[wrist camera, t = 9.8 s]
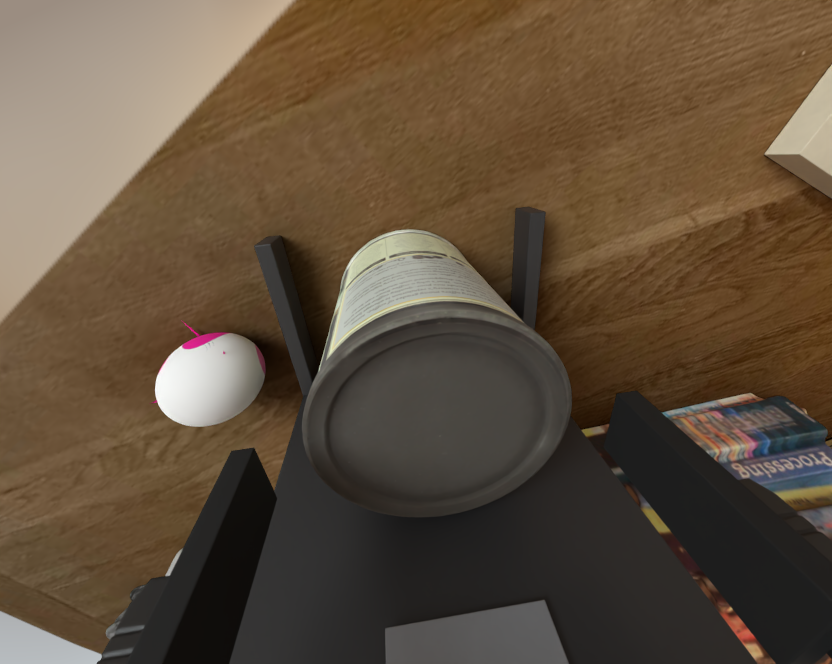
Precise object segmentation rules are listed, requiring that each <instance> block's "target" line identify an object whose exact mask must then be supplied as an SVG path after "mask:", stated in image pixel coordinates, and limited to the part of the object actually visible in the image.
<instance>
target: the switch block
mask: <svg viewBox="0 0 832 664" xmlns="http://www.w3.org/2000/svg"><path fill="white" fill-rule="evenodd" d="M764 155H766V156H767V157H769V158H770V159H772V160H773V161H775V162H776V163H778V164H779V165H781V166H782V167H784V168H785V169H787V170H789V171H790V172H792V173H793V174H795V175H796V176H798V177H799V178H801V179H802V180H804V181H805V182H807V183H808V184H810V185H811V186H813V187H815V188H816V189H818V190H819V191H821V192H822V193H824V194H825V195H827V196H828V197H830V198H831V199H832V65H831V66H830V67H829V69H828V70H827V71H826V73H825V74H824V75H823V77H822V78H821V79H820V81H819V82H818V83H817V85H816V86H815V87H814V89H813V90H812V91H811V93H810V94H809V95H808V97H807V98H806V99H805V101H804V102H803V103H802V105H801V106H800V107H799V109H798V110H797V111H796V113H795V114H794V115H793V117H792V118H791V119H790V121H789V122H788V123H787V125H786V126H785V127H784V129H783V130H782V131H781V133H780V134H779V135H778V136H777V138H776V139H775V140H774V142H773V143H772V144H771V146H770V147H769V148H768V150H767V151H766V152H765V154H764Z"/></svg>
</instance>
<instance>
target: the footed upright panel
mask: <svg viewBox="0 0 832 664" xmlns="http://www.w3.org/2000/svg"><path fill="white" fill-rule="evenodd" d="M544 224H545V212H544V211H541V210H538V209H535V208H531V207H522V208H516V213H515V233H514V253H513V273H512V293H511V309H512V310H513V311H514V312H515V313H516V315H517V316H518V317H519V318H520V319H521V320H522V321H523V322H524V323H525V324H526V325H527V326H529V327H530V328H532V329H533V330H534V331H535V321H536V311H537V300H538V289H539V278H540V267H541V256H542V245H543V234H544ZM254 247H255V250H256V253H257V256H258V259H259V263H260V266H261V269H262V272H263V275H264V278H265V281H266V284H267V287H268V290H269V293H270V296H271V299H272V302H273V305H274V308H275V311H276V314H277V317H278V320H279V324H280V327H281V330H282V333H283V336H284V339H285V342H286V345H287V348H288V351H289V354H290V357H291V360H292V363H293V366H294V369H295V372H296V375H297V378H298V381H299V385H300V388H301V391H302V394H303V399H302V402H301V406H300V409H299V412H298V415H297V419H296V422H295V425H294V429H293V432H292V435H291V438H290V442H289V445H288V448H287V451H286V455H285V458H284V461H283V464H282V468H281V471H280V474H279V477H278V481H277V484H276V487H275V490H274V492H275V494H276V497H277V501H276V505H275V508H274V512H273V515H272V519H271V522H270V525H269V529H268V532H267V536H266V539H265V543H264V546H263V549H262V553H261V556H260V560H259V563H258V567H257V570H256V573H255V577H254V580H253V584H252V587H251V591H250V594H249V597H248V601H247V604H246V608H245V611H244V615H243V618H242V621H241V625H240V628H239V632H238V635H237V639H236V642H235V645H234V649H233V652H232V656H231V659H230V663H229V664H758V663H757V662H756V661H755V659H754V658H753V657H752V655H751V654H750V653H749V651H748V650H747V649H746V647H745V646H744V645H743V643H742V642H741V641H740V639H739V638H738V637H737V635H736V634H735V633H734V631H733V630H732V629H731V627H730V626H729V625H728V624H727V622H726V621H725V620H724V618H723V617H722V616H721V614H720V613H719V612H718V610H717V609H716V608H715V606H714V605H713V604H712V602H711V601H710V600H709V598H708V597H707V596H706V594H705V593H704V592H703V590H702V589H701V588H700V586H699V585H698V584H697V583H696V581H695V580H694V579H693V577H692V576H691V575H690V573H689V572H688V571H687V569H686V568H685V567H684V565H683V564H682V563H681V561H680V560H679V559H678V557H677V556H676V555H675V553H674V552H673V551H672V549H671V548H670V547H669V545H668V544H667V543H666V541H665V540H664V539H663V538H662V536H661V535H660V534H659V532H658V531H657V530H656V528H655V527H654V526H653V524H652V523H651V522H650V520H649V519H648V518H647V516H646V515H645V514H644V512H643V511H642V510H641V508H640V507H639V506H638V504H637V503H636V502H635V500H634V499H633V498H632V497H631V495H630V494H629V493H628V491H627V490H626V489H625V487H624V486H623V485H622V483H621V482H620V481H619V479H618V478H617V477H616V475H615V474H614V473H613V471H612V470H611V469H610V467H609V466H608V465H607V463H606V462H605V461H604V459H603V458H602V457H601V455H600V454H599V453H598V452H597V450H596V449H595V448H594V446H593V445H592V444H591V442H590V441H589V440H588V438H587V437H586V436H585V434H584V433H583V432H582V430H581V429H580V428H579V426H578V425H577V424H576V422H575V421H574V420H573V418H572V417H571V416H570V419H569V423H568V426H567V428H566V431H565V434H564V436H563V438H562V440H561V442H560V444H559V445H558V447H557V449H556V451H555V452H554V453H553V455H552V456H551V457H550V458H549V460H548V461H547V462H546V463H545V464H544V465H543V467H542V468H541V469H540V470H539V471H538V472H537V473H536V474H535V475H534V476H533V477H531V478H530V479H529V480H527V481H526V482H525V483H524V484H522V485H521V486H520V487H518V488H517V489H515V490H513V491H512V492H510V493H508V494H506V495H504V496H503V497H501V498H499V499H497V500H495V501H493V502H490V503H488V504H486V505H483V506H481V507H478V508H475V509H472V510H468V511H465V512H461V513H456V514H452V515H446V516H437V517H401V516H393V515H387V514H381V513H377V512H374V511H371V510H368V509H365V508H362V507H360V506H358V505H356V504H354V503H352V502H350V501H348V500H346V499H345V498H343V497H342V496H340V495H339V494H337V493H336V492H335V491H333V490H332V489H331V488H330V487H329V486H327V485H326V484H325V483H324V482H323V480H322V479H321V478H320V477H319V476H318V474H317V473H316V471H315V470H314V468H313V467H312V465H311V463H310V461H309V459H308V456H307V454H306V451H305V447H304V442H303V432H302V419H303V412H304V407H305V403H306V400H307V397H308V394H309V391H310V388H311V386H312V383H313V381H314V379H315V377H316V375H317V373H318V371H319V368H318V364H317V361H316V357H315V354H314V350H313V347H312V343H311V339H310V336H309V332H308V329H307V325H306V322H305V318H304V315H303V311H302V308H301V304H300V301H299V297H298V294H297V290H296V287H295V283H294V280H293V276H292V273H291V269H290V266H289V262H288V259H287V255H286V252H285V248H284V245H283V241H282V238H281V236H271V237H266V238H265V239H263V240H262V241H260V242H259V243H258V244H256V245H255V246H254Z"/></svg>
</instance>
